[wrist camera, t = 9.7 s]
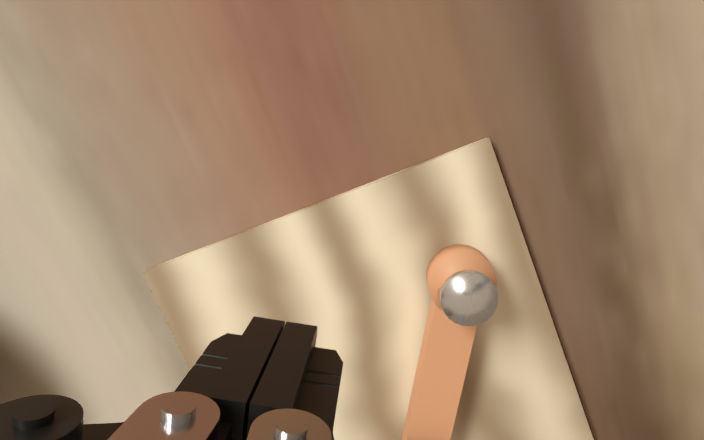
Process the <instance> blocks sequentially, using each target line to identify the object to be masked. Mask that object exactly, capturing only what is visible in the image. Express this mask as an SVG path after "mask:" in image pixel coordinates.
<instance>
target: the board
mask: <svg viewBox="0 0 704 440" xmlns="http://www.w3.org/2000/svg"><path fill="white" fill-rule="evenodd" d="M455 244H463V245H469V246H472V247H474V248H476V249H477V250H479V251H480V252H481V253H482V254H483V255H484V256H485V257H486V259H487V260H488V261H489V263H490V264H491V266H492V267H493V269H494V271H495V274H496V277H497V292H498V305H497V308H496V311H495V312H494V314H493V315H492V316H491V317H490V318H489V319H488V320H487V321H485V322H484V323H482V324H479V325H477V328H476V333H475V337H474V341H473V345H472V350H471V354H470V358H469V363H468V367H467V371H466V375H465V380H464V384H463V388H462V392H461V397H460V401H459V405H458V409H457V414H456V418H455V422H454V427H453V431H452V435H451V439H450V440H594V439H593V436H592V433H591V430H590V428H589V425H588V422H587V419H586V416H585V413H584V410H583V407H582V404H581V401H580V399H579V396H578V393H577V390H576V387H575V384H574V381H573V378H572V375H571V373H570V370H569V367H568V364H567V361H566V358H565V355H564V352H563V349H562V347H561V344H560V341H559V338H558V335H557V332H556V329H555V326H554V323H553V320H552V318H551V315H550V312H549V309H548V306H547V303H546V300H545V297H544V294H543V292H542V289H541V286H540V283H539V280H538V277H537V274H536V271H535V268H534V265H533V263H532V260H531V257H530V254H529V251H528V248H527V245H526V242H525V239H524V237H523V234H522V231H521V228H520V225H519V222H518V219H517V216H516V213H515V211H514V208H513V205H512V202H511V199H510V196H509V193H508V190H507V187H506V184H505V182H504V179H503V176H502V173H501V170H500V167H499V164H498V161H497V158H496V156H495V153H494V150H493V147H492V144H491V141H490V138H484V139H481V140H479V141H476V142H474V143H471V144H468V145H466V146H463V147H461V148H458V149H456V150H453V151H450V152H448V153H445V154H443V155H440V156H437V157H435V158H432V159H430V160H427V161H425V162H422V163H419V164H417V165H414V166H412V167H409V168H407V169H404V170H401V171H399V172H396V173H394V174H391V175H388V176H386V177H383V178H381V179H378V180H376V181H373V182H370V183H368V184H365V185H363V186H360V187H357V188H355V189H352V190H350V191H347V192H345V193H342V194H339V195H337V196H334V197H332V198H329V199H326V200H324V201H321V202H319V203H316V204H314V205H311V206H308V207H306V208H303V209H301V210H298V211H295V212H293V213H290V214H288V215H285V216H283V217H280V218H277V219H275V220H272V221H270V222H267V223H265V224H262V225H259V226H257V227H254V228H252V229H249V230H246V231H244V232H241V233H239V234H236V235H234V236H231V237H228V238H226V239H223V240H221V241H218V242H215V243H213V244H210V245H208V246H205V247H203V248H200V249H197V250H195V251H192V252H190V253H187V254H184V255H182V256H179V257H177V258H174V259H172V260H169V261H166V262H164V263H161V264H159V265H156V266H154V267H151V268H148V269H147V270H145V271H144V272H143V275H144V277H145V279H146V281H147V283H148V285H149V287H150V289H151V291H152V293H153V295H154V297H155V299H156V301H157V303H158V306H159V308H160V310H161V312H162V314H163V316H164V318H165V320H166V322H167V324H168V326H169V328H170V330H171V332H172V334H173V336H174V338H175V340H176V342H177V344H178V346H179V348H180V350H181V352H182V354H183V356H184V358H185V360H186V362H187V364H188V366H189V368H190V370H191V368H192V367H193V366H194V365H195V364H196V362H197V360H198V359H199V357H200V356H201V355H202V354H203V352H204V351H205V349H206V348H207V346H208V345H209V344H210V342H211V341H213V340H215V339H217V338H219V337H221V336H223V335H225V334H226V333H230V334H237V335H242V334H243V333H244V331H245V329H246V328H247V326H248V325H249V323H250V321H251V320H252V318H253V317H254V316H256V317H262V318H269V319H275V320H281V321H285V324H286V322H287V321H288V322H294V323H301V324H307V325H313V326H317V338H316V345H315V347H318V348H325V349H331V350H336V351H337V353H338V355H339V356H340V358H341V360H342V361H343V368H342V374H341V381H340V388H339V394H338V401H337V407H336V414H335V420H334V427H333V436H334V440H402V435H403V430H404V425H405V421H406V416H407V411H408V406H409V402H410V397H411V392H412V387H413V383H414V378H415V373H416V368H417V364H418V359H419V354H420V349H421V345H422V340H423V335H424V330H425V326H426V321H427V316H428V311H429V307H430V302H431V295H430V292H429V288H428V284H427V279H426V273H427V267H428V265H429V262H430V260H431V259H432V257H433V256H434V255H435V254H436V253H437V252H438V251H440V250H441V249H443V248H445V247H447V246H450V245H455Z"/></svg>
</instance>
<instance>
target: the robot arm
mask: <svg viewBox="0 0 704 440" xmlns="http://www.w3.org/2000/svg"><path fill="white" fill-rule="evenodd" d="M316 338H317V326H313V325H307V324H301V323H294V322H288V321H287V322H286V324H285V321H281V320H275V319H269V318H262V317H256V316H254V317H253V318H252V320H251V321H250V323H249V325H248V326H247V328H246V329H245V331H244V333H243V334H242V335H237V334H230V333H226V334H225V335H223V336H221V337H219V338H217V339H215V340H213V341H211V342H210V344H209V345H208V346H207V348H206V349H205V351H204V352H203V354H202V355H201V356H200V357H199V359H198V360H197V362H196V364H195V365H194V366H193V367H192V368H191V370H190V371H189V372H188V374H187V375H186V377H185V378H184V379H183V381H182V382H181V383H180V385H179V386H178V387H177V389H176V390H175V392H169V393H164V394H160V395H157V396H155V397H152V398H150V399H148V400H147V401H145V402H144V403H143V404H142V405H140V406H139V407H138V408H137V409H136V410H135V412H134V413H133V414H132V415H131V416H130V417H129V418H128V419H127V420H126V421H125V422H122V423H107V424H85V425H83V408H82V407H81V405H80V404H79V403H78V402H77V401H75V400H73V399H71V398H68V397H65V396H60V395H35V396H29V397H25V398H21V399H17V400H13V401H10V402H7V403H3V404H0V440H334V436H333V427H334V420H335V414H336V407H337V401H338V394H339V388H340V381H341V374H342V368H343V361H342V360H341V358H340V356H339V355H338V353H337V351H336V350H331V349H325V348H318V347H315V345H316Z"/></svg>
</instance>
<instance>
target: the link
mask: <svg viewBox="0 0 704 440" xmlns="http://www.w3.org/2000/svg"><path fill="white" fill-rule="evenodd" d="M462 270H476V271H479V272H481V273H483V274H485V275H486V276H488V277H489V278H490V280H491V281H492V282H493V284H494V286H495V287H496V289H497V277H496V274H495V271H494V269H493V267H492V266H491V264H490V263H489V261H488V260H487V259H486V257H485V256H484V255H483V254H482V253H481V252H480V251H479V250H477V249H476V248H474V247H472V246H469V245H463V244H455V245H450V246H447V247H445V248H443V249H441V250H440V251H438V252H437V253H436V254H435V255H434V256H433V257H432V259H431V260H430V262H429V265H428V267H427V273H426V279H427V284H428V288H429V292H430V295H431V302H430V307H429V311H428V316H427V321H426V326H425V330H424V335H423V340H422V345H421V349H420V354H419V359H418V364H417V368H416V373H415V378H414V383H413V387H412V392H411V397H410V402H409V406H408V411H407V416H406V421H405V425H404V430H403V435H402V440H450V439H451V435H452V431H453V427H454V422H455V418H456V414H457V409H458V405H459V401H460V397H461V392H462V388H463V384H464V380H465V375H466V371H467V367H468V363H469V358H470V354H471V350H472V345H473V341H474V337H475V333H476V328H477V325H476V326H462V325H459V324H456V323H454V322H453V321H451V320H450V319H449V318H448V317H447V316H446V314H445V313H444V311H443V309H442V305H441V302H440V291H441V288H442V286H443V284H444V282H445V281H446V280H447V278H449V277H450V276H451V275H452V274H454V273H456V272H458V271H462Z"/></svg>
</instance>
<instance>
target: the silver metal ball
mask: <svg viewBox="0 0 704 440" xmlns="http://www.w3.org/2000/svg"><path fill="white" fill-rule="evenodd" d="M440 302H441V305H442V309H443V311H444V313H445V314H446V316H447V317H448V318H449V319H450V320H451V321H453V322H454V323H456V324H459V325H462V326H476V325H479V324H482V323H484V322H485V321H487V320H488V319H489V318H490V317H491V316H492V315H493V314H494V312H495V311H496V308H497V305H498V292H497V289H496V287H495V286H494V284H493V282H492V281H491V280H490V278H489V277H488V276H486V275H485V274H483V273H481V272H479V271H476V270H462V271H458V272H456V273H454V274H452V275H451V276H450V277H449V278H447V280H446V281H445V282H444V284H443V286H442V288H441V291H440Z"/></svg>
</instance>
